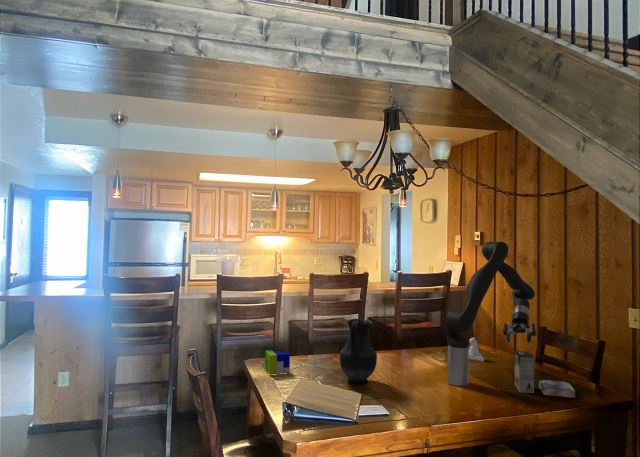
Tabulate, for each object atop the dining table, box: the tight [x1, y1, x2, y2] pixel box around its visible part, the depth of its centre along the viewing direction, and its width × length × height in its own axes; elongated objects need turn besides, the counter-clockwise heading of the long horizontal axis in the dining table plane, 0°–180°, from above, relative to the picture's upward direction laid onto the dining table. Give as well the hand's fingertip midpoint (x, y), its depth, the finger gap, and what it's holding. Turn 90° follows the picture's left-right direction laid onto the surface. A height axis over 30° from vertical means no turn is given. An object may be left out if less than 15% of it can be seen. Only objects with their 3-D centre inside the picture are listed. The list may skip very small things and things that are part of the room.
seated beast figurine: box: [468, 337, 485, 363], centre depth 241 cm, size 10×9×12 cm
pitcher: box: [339, 318, 378, 386], centre depth 200 cm, size 17×21×30 cm
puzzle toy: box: [264, 348, 291, 375], centre depth 216 cm, size 10×10×10 cm
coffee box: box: [513, 350, 535, 394], centre depth 193 cm, size 9×6×16 cm
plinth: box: [538, 379, 576, 399], centre depth 189 cm, size 12×11×3 cm
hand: (518, 341), depth 202 cm, fingers open, 8 cm apart
